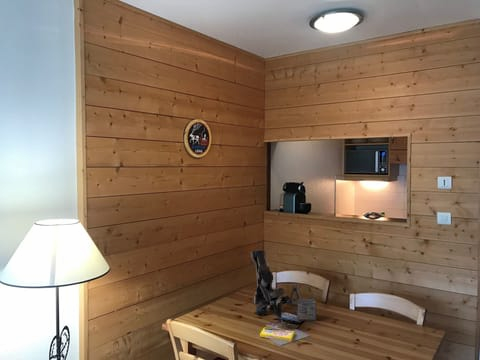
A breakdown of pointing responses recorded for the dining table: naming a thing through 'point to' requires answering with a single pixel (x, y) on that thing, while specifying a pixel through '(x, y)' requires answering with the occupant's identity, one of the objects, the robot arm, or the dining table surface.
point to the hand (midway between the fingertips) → (280, 317)
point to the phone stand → (293, 295)
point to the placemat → (296, 337)
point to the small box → (306, 309)
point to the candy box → (277, 334)
